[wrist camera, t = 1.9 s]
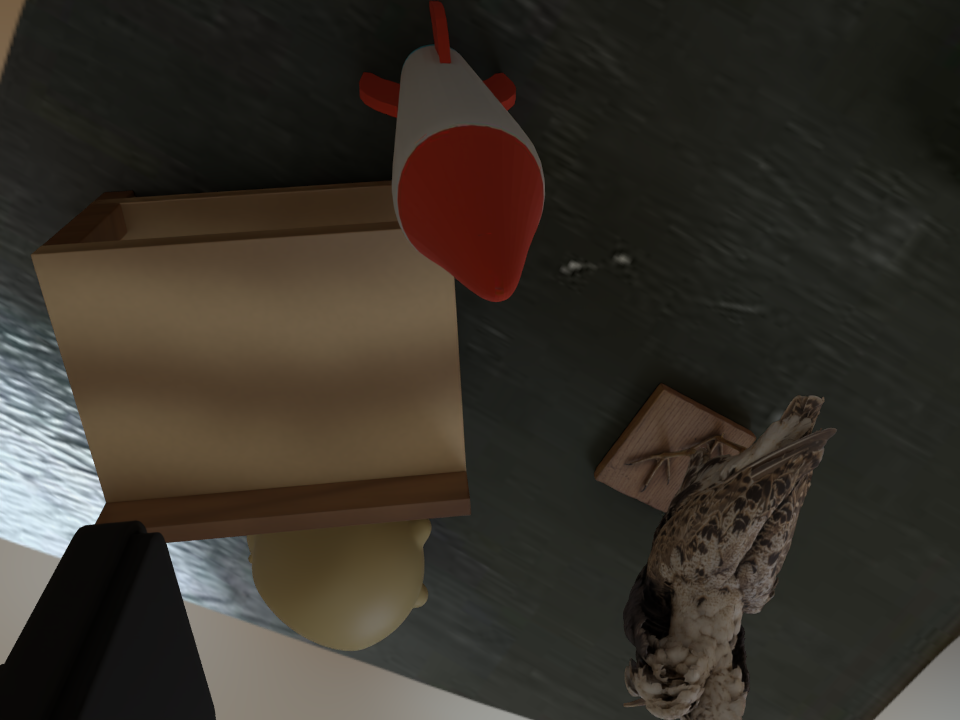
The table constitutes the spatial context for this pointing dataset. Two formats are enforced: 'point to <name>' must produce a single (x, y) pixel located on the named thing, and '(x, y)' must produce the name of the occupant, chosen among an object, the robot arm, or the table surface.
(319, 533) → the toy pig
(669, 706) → the stuffed bird
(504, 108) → the toy rocket
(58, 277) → the rack
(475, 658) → the table surface
